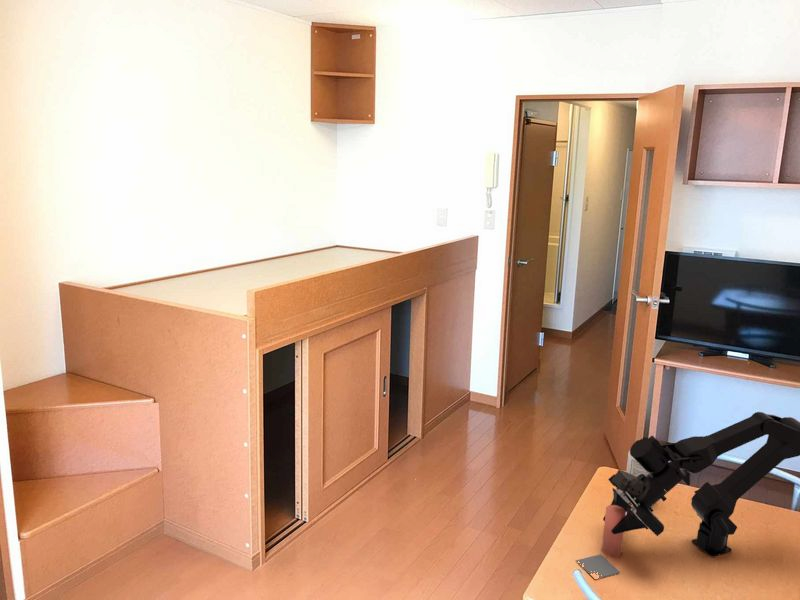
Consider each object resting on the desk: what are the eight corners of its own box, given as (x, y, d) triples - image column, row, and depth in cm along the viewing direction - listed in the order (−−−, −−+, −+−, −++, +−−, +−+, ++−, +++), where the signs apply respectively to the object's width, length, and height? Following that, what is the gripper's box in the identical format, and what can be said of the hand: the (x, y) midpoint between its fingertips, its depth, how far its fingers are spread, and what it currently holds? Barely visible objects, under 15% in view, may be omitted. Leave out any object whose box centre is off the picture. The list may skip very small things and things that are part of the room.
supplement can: (617, 494, 179) (622, 445, 175) (642, 490, 181) (648, 441, 178) (636, 510, 171) (642, 459, 168) (661, 505, 174) (668, 455, 170)
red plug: (612, 543, 157) (617, 503, 154) (625, 554, 153) (629, 513, 150) (598, 547, 156) (602, 506, 153) (609, 558, 152) (614, 516, 149)
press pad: (600, 555, 153) (600, 554, 153) (620, 573, 146) (620, 572, 146) (575, 561, 150) (576, 560, 150) (594, 580, 144) (594, 579, 144)
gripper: (619, 443, 158) (572, 485, 160) (656, 482, 140) (603, 529, 142) (647, 471, 161) (600, 512, 162) (686, 513, 143) (633, 559, 144)
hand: (608, 526), depth 153 cm, fingers closed on red plug, 4 cm apart
